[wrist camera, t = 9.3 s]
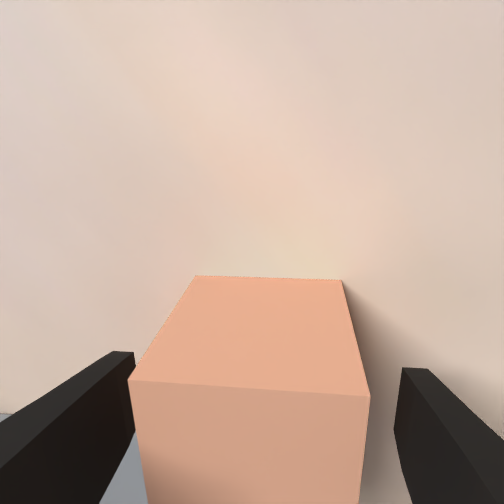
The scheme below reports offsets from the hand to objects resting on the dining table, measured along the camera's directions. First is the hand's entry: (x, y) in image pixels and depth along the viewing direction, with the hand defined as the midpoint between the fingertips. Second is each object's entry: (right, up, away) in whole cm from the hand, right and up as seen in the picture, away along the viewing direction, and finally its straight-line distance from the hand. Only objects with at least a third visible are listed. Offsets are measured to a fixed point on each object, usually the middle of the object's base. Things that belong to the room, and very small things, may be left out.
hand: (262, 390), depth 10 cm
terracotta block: (0, +1, +2) cm, 2 cm away
